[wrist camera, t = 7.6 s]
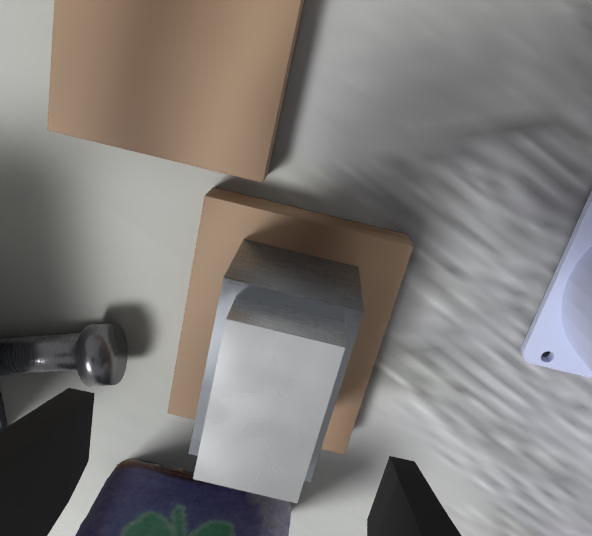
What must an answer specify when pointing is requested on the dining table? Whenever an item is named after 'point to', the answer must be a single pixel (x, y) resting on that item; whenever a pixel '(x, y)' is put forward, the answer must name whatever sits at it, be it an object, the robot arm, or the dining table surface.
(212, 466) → the block
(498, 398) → the dining table surface
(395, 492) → the robot arm
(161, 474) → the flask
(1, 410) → the small box
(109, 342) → the loose bolt
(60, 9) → the stand
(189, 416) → the stand
